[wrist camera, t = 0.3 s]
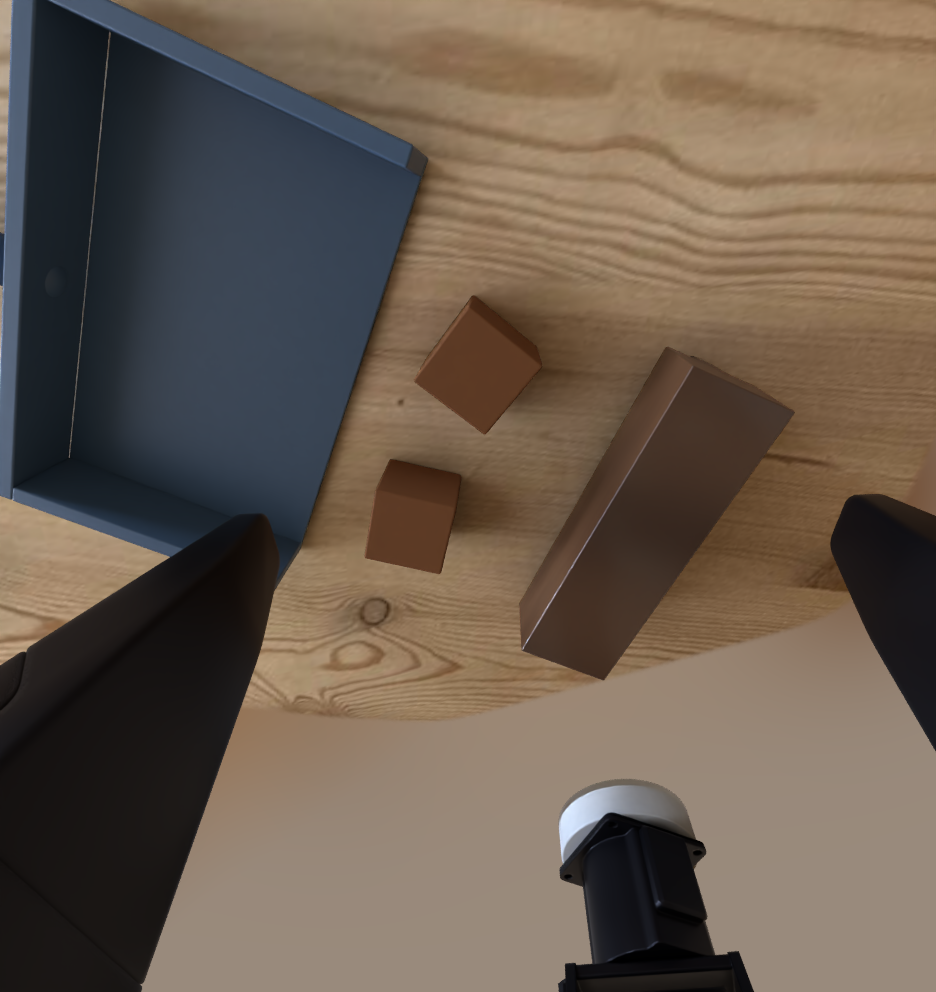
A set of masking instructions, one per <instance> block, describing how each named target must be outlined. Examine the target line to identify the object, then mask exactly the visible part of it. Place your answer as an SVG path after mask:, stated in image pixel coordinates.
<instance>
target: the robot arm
mask: <svg viewBox="0 0 936 992" xmlns="http://www.w3.org/2000/svg"><path fill="white" fill-rule="evenodd" d="M831 551H832V554H833V557H834V559H835V561H836V564H837V566H838V568H839V570H840V573H841V575H842V577H843V579H844V582H845V584H846V586H847V588H848V591H849V593H850V595H851V597H852V600H853V602H854V604H855V606H856V609H857V611H858V613H859V615H860V617H861V620H862V622H863V624H864V626H865V628H866V631H867V633H868V634H869V636H870V639H871V641H872V642H873V644H874V646H875V648H876V650H877V651H878V653H879V655H880V657H881V658H882V660H883V662H884V664H885V665H886V667H887V669H888V670H889V672H890V674H891V676H892V677H893V679H894V681H895V682H896V684H897V686H898V687H899V689H900V691H901V693H902V694H903V696H904V698H905V700H906V701H907V703H908V705H909V706H910V708H911V710H912V712H913V713H914V715H915V717H916V718H917V720H918V722H919V724H920V725H921V727H922V729H923V730H924V732H925V734H926V735H927V737H928V739H929V741H930V742H931V744H932V746H933V748H934V749H935V751H936V516H935V515H932V514H930V513H927V512H925V511H922V510H920V509H917V508H915V507H912V506H910V505H908V504H905V503H903V502H900V501H898V500H895V499H893V498H890V497H888V496H885V495H882V494H863V495H853V496H851V497H850V498H848V500H847V501H846V502H845V504H844V507H843V509H842V511H841V514H840V516H839V519H838V521H837V524H836V526H835V529H834V531H833V534H832V537H831ZM279 566H280V556H279V551H278V548H277V545H276V541H275V538H274V535H273V532H272V529H271V525H270V522H269V520H268V518H267V516H266V515H264V514H262V513H245V514H238V515H236V516H234V517H233V518H231V519H229V520H228V521H226V522H225V523H223V524H222V525H220V526H218V527H217V528H215V529H214V530H212V531H211V532H209V533H207V534H206V535H204V536H203V537H201V538H200V539H198V540H196V541H195V542H193V543H192V544H190V545H189V546H187V547H185V548H184V549H182V550H181V551H179V552H178V553H176V554H174V555H173V556H171V557H170V558H168V559H167V560H165V561H163V562H162V563H160V564H159V565H157V566H156V567H154V568H152V569H151V570H149V571H148V572H146V573H145V574H143V575H141V576H140V577H138V578H137V579H135V580H134V581H132V582H131V583H129V584H127V585H126V586H124V587H123V588H121V589H120V590H118V591H116V592H115V593H113V594H112V595H110V596H109V597H107V598H105V599H104V600H102V601H101V602H99V603H98V604H96V605H94V606H93V607H91V608H90V609H88V610H87V611H85V612H83V613H82V614H80V615H79V616H77V617H76V618H74V619H72V620H71V621H69V622H68V623H66V624H65V625H63V626H61V627H60V628H58V629H57V630H55V631H54V632H52V633H50V634H49V635H47V636H46V637H44V638H43V639H41V640H39V641H38V642H36V643H35V644H33V645H32V646H30V647H29V648H28V649H27V652H20V653H19V654H17V655H16V656H14V657H13V658H11V659H9V660H8V661H6V662H5V663H3V664H2V665H0V992H141V990H142V986H141V985H140V984H142V983H143V982H144V980H145V978H146V975H147V972H148V969H149V967H150V963H151V961H152V958H153V955H154V952H155V950H156V947H157V944H158V941H159V938H160V935H161V933H162V930H163V927H164V924H165V921H166V918H167V915H168V913H169V910H170V907H171V904H172V901H173V898H174V895H175V893H176V890H177V887H178V884H179V881H180V879H181V875H182V873H183V870H184V867H185V864H186V862H187V858H188V856H189V853H190V850H191V847H192V844H193V842H194V839H195V836H196V833H197V830H198V827H199V825H200V821H201V819H202V816H203V813H204V810H205V807H206V805H207V802H208V799H209V796H210V793H211V791H212V788H213V785H214V782H215V779H216V776H217V773H218V771H219V768H220V765H221V762H222V759H223V756H224V754H225V751H226V748H227V745H228V742H229V739H230V737H231V734H232V731H233V728H234V725H235V722H236V719H237V717H238V714H239V711H240V708H241V705H242V702H243V700H244V697H245V694H246V691H247V688H248V685H249V683H250V680H251V677H252V674H253V671H254V668H255V666H256V663H257V659H258V656H259V653H260V650H261V646H262V642H263V638H264V634H265V630H266V625H267V621H268V616H269V612H270V607H271V603H272V598H273V594H274V589H275V585H276V581H277V576H278V572H279ZM705 854H706V849H705V846H704V844H703V842H701V841H698V840H695V839H692V838H689V837H686V836H683V835H680V834H677V833H674V832H672V831H669V830H666V829H663V828H660V827H657V826H654V825H651V824H648V823H645V822H642V821H639V820H636V819H633V818H630V817H627V816H624V815H621V814H618V813H613V812H610V813H607V814H605V815H604V816H603V817H602V818H601V819H600V821H599V822H598V823H597V824H596V825H595V827H594V828H593V829H592V830H591V831H590V832H589V834H588V835H587V836H586V837H585V838H584V840H583V841H582V842H581V843H580V844H579V846H578V847H577V848H576V849H575V850H574V852H573V853H572V854H571V855H570V856H569V858H568V859H567V860H566V861H565V862H564V863H563V865H562V866H561V867H560V870H559V871H560V878H561V879H562V880H564V881H567V882H570V883H573V884H576V885H579V886H582V887H583V890H584V899H585V907H586V915H587V923H588V931H589V939H590V947H591V955H592V964H584V965H576V963H567V964H565V975H566V976H565V977H566V978H565V979H564V980H562V981H561V982H560V983H558V987H559V992H754V991H753V988H752V985H751V983H750V980H749V978H748V975H747V972H746V969H745V967H744V964H743V961H742V959H741V956H740V953H739V951H734V952H727V953H728V954H726V955H715V952H714V949H713V946H712V943H711V939H710V936H709V932H708V929H707V926H706V922H705V920H706V919H707V913H706V909H705V906H704V903H703V899H702V896H701V893H700V889H699V886H698V883H697V879H696V876H695V873H694V869H693V866H694V865H695V864H696V863H697V862H698V861H700V859H702V857H704V856H705Z"/></svg>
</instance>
